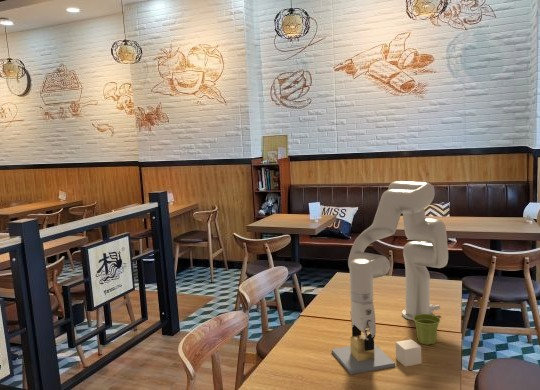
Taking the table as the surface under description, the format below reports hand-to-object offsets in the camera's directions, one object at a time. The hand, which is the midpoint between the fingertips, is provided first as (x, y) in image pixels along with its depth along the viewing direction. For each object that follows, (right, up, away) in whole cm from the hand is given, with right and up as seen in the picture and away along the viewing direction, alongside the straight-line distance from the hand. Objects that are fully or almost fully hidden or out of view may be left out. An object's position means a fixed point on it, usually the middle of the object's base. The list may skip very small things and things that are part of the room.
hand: (362, 343), depth 159 cm
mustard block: (0, -4, 0) cm, 4 cm away
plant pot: (+26, -3, +12) cm, 29 cm away
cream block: (+15, -5, -2) cm, 16 cm away
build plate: (0, -5, 0) cm, 5 cm away
